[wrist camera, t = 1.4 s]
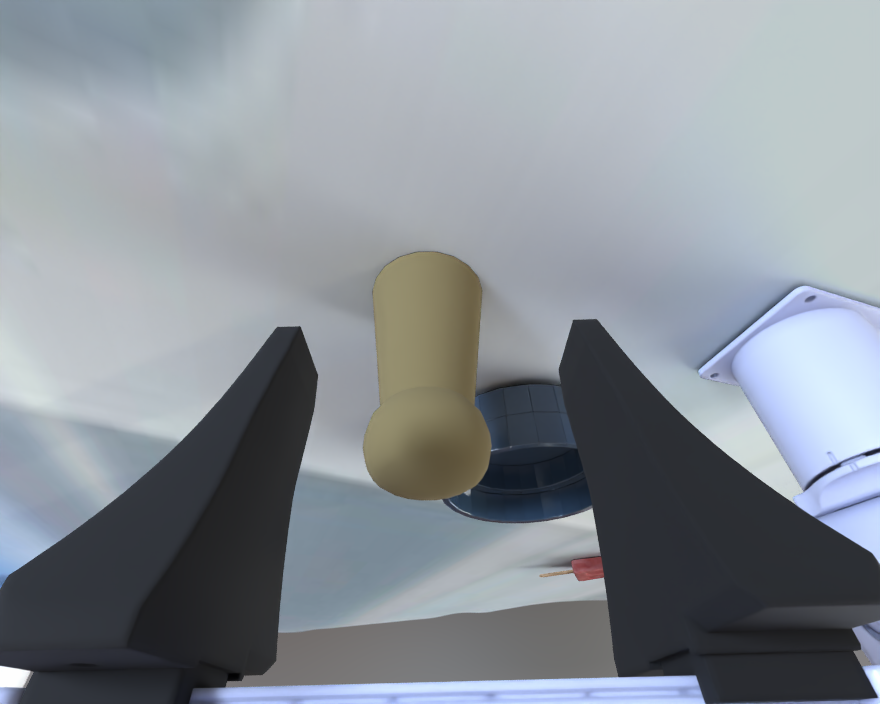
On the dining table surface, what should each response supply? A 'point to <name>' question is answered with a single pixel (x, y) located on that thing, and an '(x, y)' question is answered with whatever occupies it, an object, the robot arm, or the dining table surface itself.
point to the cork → (427, 379)
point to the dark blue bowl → (527, 460)
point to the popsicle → (583, 569)
